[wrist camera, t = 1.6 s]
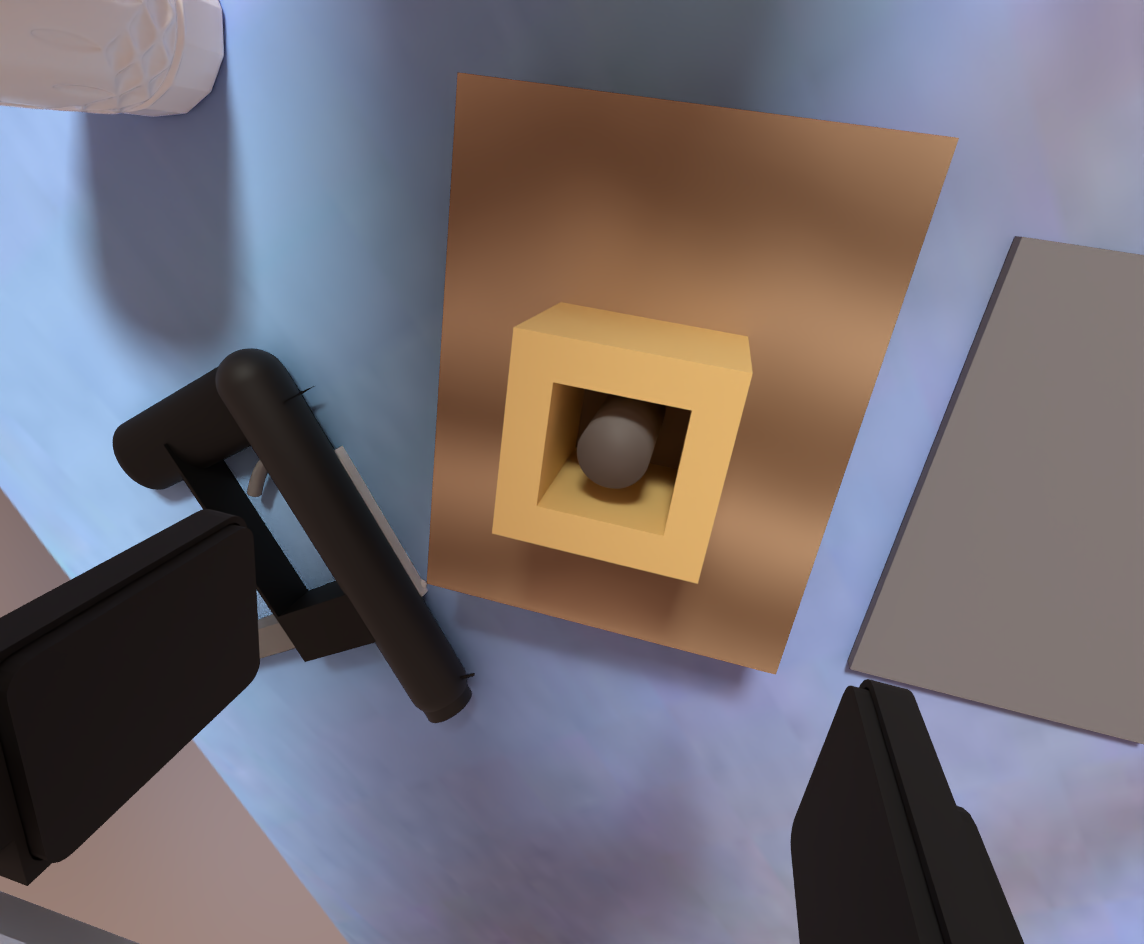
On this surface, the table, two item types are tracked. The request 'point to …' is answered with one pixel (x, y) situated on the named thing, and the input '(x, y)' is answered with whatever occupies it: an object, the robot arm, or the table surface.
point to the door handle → (323, 508)
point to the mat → (1031, 507)
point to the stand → (679, 295)
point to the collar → (551, 421)
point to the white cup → (109, 55)
